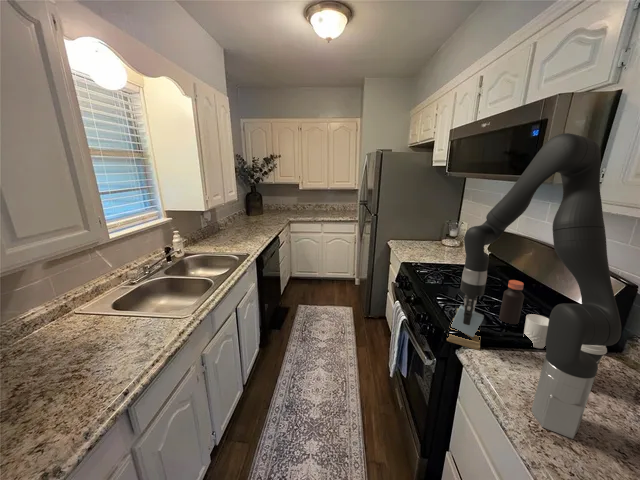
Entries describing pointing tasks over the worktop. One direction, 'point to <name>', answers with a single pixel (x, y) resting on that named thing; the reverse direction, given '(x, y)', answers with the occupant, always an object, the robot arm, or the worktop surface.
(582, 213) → the robot arm
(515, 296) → the bottle
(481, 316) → the pale blue-grey block
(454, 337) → the dish rack
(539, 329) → the white cup
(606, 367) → the worktop surface
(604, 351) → the coffee cup
